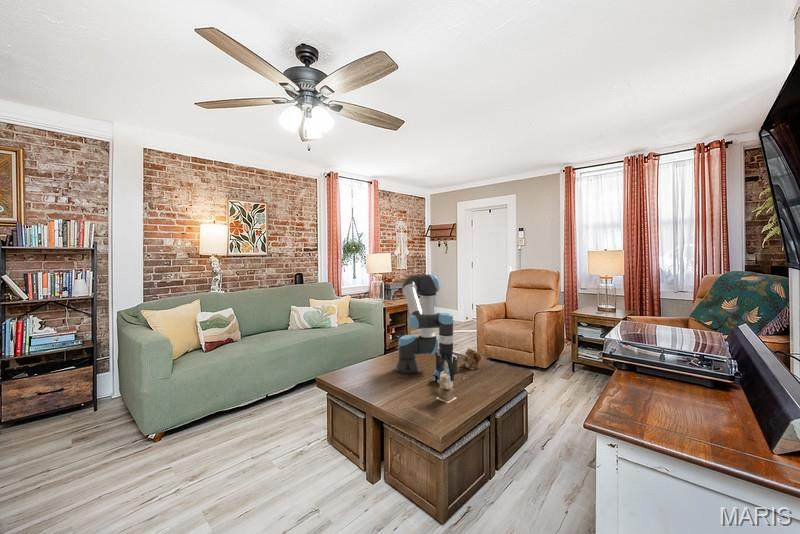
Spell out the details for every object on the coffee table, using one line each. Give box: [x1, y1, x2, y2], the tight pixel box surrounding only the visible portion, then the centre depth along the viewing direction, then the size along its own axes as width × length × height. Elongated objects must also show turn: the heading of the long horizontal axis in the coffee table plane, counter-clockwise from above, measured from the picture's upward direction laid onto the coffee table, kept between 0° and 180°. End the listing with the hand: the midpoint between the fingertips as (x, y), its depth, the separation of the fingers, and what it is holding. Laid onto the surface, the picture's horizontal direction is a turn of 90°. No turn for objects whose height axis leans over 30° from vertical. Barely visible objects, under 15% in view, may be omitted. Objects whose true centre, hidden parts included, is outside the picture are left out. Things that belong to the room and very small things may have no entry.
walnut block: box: [438, 387, 455, 403], centre depth 179 cm, size 6×6×5 cm
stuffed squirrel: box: [460, 347, 483, 371], centre depth 229 cm, size 10×14×13 cm
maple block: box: [439, 374, 454, 389], centre depth 178 cm, size 5×5×6 cm
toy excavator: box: [431, 359, 453, 385], centre depth 200 cm, size 9×17×17 cm, turn 28°
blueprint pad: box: [436, 396, 457, 404], centre depth 182 cm, size 16×14×1 cm
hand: (446, 385), depth 178 cm, fingers closed on maple block, 5 cm apart
